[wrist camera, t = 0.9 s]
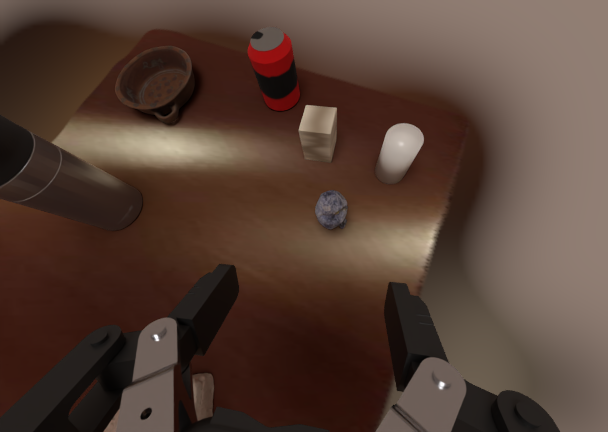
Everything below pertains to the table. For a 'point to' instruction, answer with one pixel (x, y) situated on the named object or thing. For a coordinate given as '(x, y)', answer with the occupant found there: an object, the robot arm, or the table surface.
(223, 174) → the table surface
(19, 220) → the table surface
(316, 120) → the birch block
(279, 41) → the soda can
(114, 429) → the brick
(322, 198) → the fossil stone
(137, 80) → the dish
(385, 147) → the ceramic cylinder
